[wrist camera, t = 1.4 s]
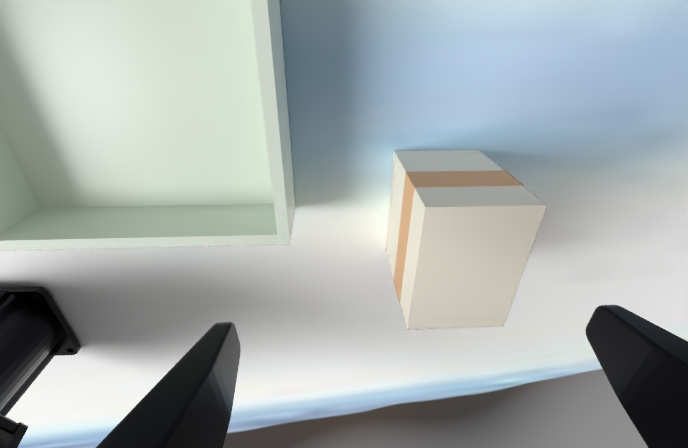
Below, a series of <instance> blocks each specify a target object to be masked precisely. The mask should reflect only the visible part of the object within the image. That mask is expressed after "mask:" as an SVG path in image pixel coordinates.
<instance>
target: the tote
mask: <svg viewBox="0 0 688 448" xmlns="http://www.w3.org/2000/svg"><path fill="white" fill-rule="evenodd" d="M295 209H296V207H295V194H294V181H293V168H292V155H291V142H290V129H289V116H288V103H287V90H286V77H285V64H284V51H283V38H282V25H281V12H280V0H0V251H11V250H55V249H100V248H144V247H188V246H232V245H276V244H290V240H291V234H292V227H293V221H294V215H295Z"/></svg>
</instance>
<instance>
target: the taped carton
mask: <svg viewBox="0 0 688 448" xmlns="http://www.w3.org/2000/svg"><path fill="white" fill-rule="evenodd" d="M546 207H547V205H546V204H545V203H544V202H543V201H542V200H540V199H539V198H538V197H537V196H535V195H534V194H533V193H532V192H530V191H529V190H528V189H527V188H525V187H524V185H523V184H522V183H520V182H519V181H518V180H517V179H515V178H514V177H513V176H512V175H510V174H509V173H508V172H507V171H505V170H503V169H502V168H501V167H500V166H498V165H497V164H496V163H495V162H493V161H492V160H491V159H490V158H488V157H487V156H486V155H485V154H484V153H482V152H481V151H480V150H412V151H394V158H393V170H392V181H391V193H390V204H389V216H388V227H387V239H386V253H387V257H388V261H389V264H390V268H391V272H392V275H393V279H394V284H395V288H396V292H397V296H398V299H399V303H400V305H401V309H402V312H403V316H404V320H405V323H406V327H407V329H434V328H462V327H491V326H504V323H505V321H506V318H507V315H508V312H509V310H510V307H511V304H512V301H513V298H514V296H515V293H516V290H517V287H518V285H519V282H520V279H521V276H522V274H523V271H524V268H525V265H526V263H527V260H528V257H529V254H530V252H531V249H532V246H533V243H534V240H535V238H536V235H537V232H538V229H539V227H540V224H541V221H542V218H543V216H544V213H545V210H546Z"/></svg>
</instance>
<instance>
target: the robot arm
mask: <svg viewBox="0 0 688 448" xmlns="http://www.w3.org/2000/svg"><path fill="white" fill-rule="evenodd" d="M586 336H587V338H588V341H589V342H590V344H591V346H592V348H593V350H594V352H595V354H596V356H597V358H598V360H599V362H600V364H601V366H602V368H603V370H604V372H605V374H606V376H607V378H608V380H609V382H610V384H611V386H612V388H613V390H614V391H615V394H616V395H617V397H618V399H619V400H620V402H621V404H622V406H623V407H624V409H625V410H626V412H627V414H628V415H629V417H630V419H631V420H632V422H633V424H634V425H635V427H636V428H637V430H638V431H639V433H640V435H641V436H642V438H643V440H644V441H645V443H646V444H647V446H648V448H688V341H686V340H684V339H682V338H680V337H678V336H676V335H674V334H672V333H670V332H668V331H666V330H665V329H663V328H661V327H659V326H657V325H655V324H653V323H651V322H649V321H647V320H645V319H644V318H642V317H640V316H638V315H636V314H634V313H632V312H630V311H628V310H626V309H624V308H622V307H620V306H618V305H601V306H599V307H597V308H596V309H595V311H594V313H593V315H592V317H591V319H590V321H589V323H588V325H587V327H586ZM80 348H81V346H80V345H79V343H78V341H77V339H76V338H75V336H74V334H73V333H72V331H71V329H70V328H69V326H68V324H67V323H66V321H65V319H64V318H63V316H62V314H61V313H60V311H59V309H58V308H57V306H56V304H55V303H54V301H53V299H52V298H51V296H50V294H49V293H48V292H47V290H45V289H43V288H40V287H27V288H0V448H17V447H18V445H19V443H20V442H21V440H22V438H23V436H24V434H25V432H26V430H27V428H28V426H26V425H24V424H23V423H21V422H20V423H16V422H14V421H13V420H11V419H9V418H7V417H5V416H6V414H7V413H8V412H9V411H10V410H11V408H12V407H13V406H14V405H15V403H16V402H17V401H18V400H19V399H20V397H21V396H22V395H23V394H24V392H25V391H26V390H27V389H28V388H29V386H30V385H31V384H32V383H33V381H34V380H35V379H36V378H37V376H38V375H39V374H40V373H41V372H42V370H43V369H44V368H45V367H46V365H47V364H48V363H49V362H50V361H51V359H52V358H53V357H54V356H55V355H75V354H77V353H78V351H79V350H80ZM239 358H240V342H239V339H238V335H237V331H236V328H235V325H234V324H233V323H232V322H221V323H216V324H214V325H213V326H212V327H211V328H210V329H209V330H208V331H207V332H206V333H205V335H204V336H203V337H202V338H201V339H200V340H199V341H198V342H197V343H196V344H195V345H194V346H193V347H192V348H191V349H190V350H189V351H188V352H187V353H186V354H185V355H184V356H183V357H182V358H181V360H180V361H179V362H178V363H177V364H176V365H175V366H174V367H173V368H172V369H171V370H170V371H169V372H168V373H167V374H166V375H165V376H164V377H163V378H162V379H161V380H160V381H159V382H158V383H157V384H156V386H155V387H154V388H153V389H152V390H151V391H150V392H149V393H148V394H147V395H146V396H145V397H144V398H143V399H142V400H141V401H140V402H139V403H138V404H137V405H136V406H135V407H134V408H133V409H132V411H131V412H130V413H129V414H128V415H127V416H126V417H125V418H124V419H123V420H122V421H121V422H120V423H119V424H118V425H117V426H116V427H115V428H114V429H113V430H112V431H111V432H110V433H109V434H108V435H107V437H106V438H105V439H104V440H103V441H102V442H101V443H100V444H99V445H98V446H97V447H96V448H223V445H224V441H225V437H226V434H227V430H228V426H229V421H230V417H231V411H232V405H233V398H234V392H235V385H236V378H237V372H238V365H239Z"/></svg>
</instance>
